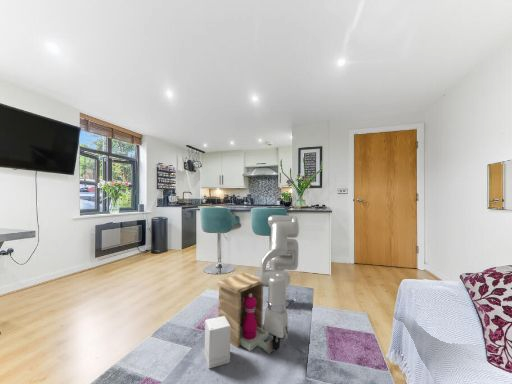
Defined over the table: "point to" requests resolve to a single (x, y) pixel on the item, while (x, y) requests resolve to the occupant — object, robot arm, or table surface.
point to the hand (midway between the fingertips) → (276, 348)
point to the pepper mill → (249, 318)
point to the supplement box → (217, 341)
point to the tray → (256, 340)
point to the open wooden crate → (239, 302)
